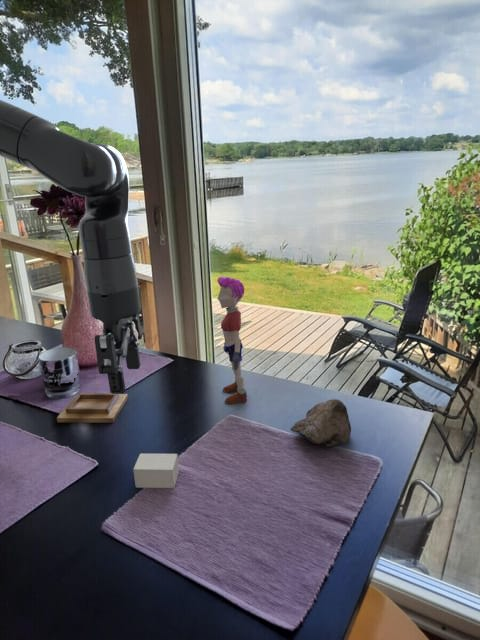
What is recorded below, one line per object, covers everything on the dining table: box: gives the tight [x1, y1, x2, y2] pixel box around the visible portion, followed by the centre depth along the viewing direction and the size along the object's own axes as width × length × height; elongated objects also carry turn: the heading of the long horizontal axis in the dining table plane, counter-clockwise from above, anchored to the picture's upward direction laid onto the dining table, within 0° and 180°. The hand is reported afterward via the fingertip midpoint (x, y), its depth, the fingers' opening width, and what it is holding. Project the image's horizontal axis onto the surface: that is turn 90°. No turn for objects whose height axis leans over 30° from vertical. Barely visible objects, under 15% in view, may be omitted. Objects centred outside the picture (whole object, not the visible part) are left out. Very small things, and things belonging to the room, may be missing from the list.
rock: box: [290, 399, 352, 448], centre depth 90 cm, size 13×12×10 cm
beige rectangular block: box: [133, 453, 180, 489], centre depth 80 cm, size 7×4×4 cm, turn 87°
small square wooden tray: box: [56, 392, 129, 424], centre depth 104 cm, size 13×11×2 cm
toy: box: [217, 276, 248, 405], centre depth 104 cm, size 16×6×30 cm, turn 6°
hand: (126, 379), depth 72 cm, fingers open, 8 cm apart
